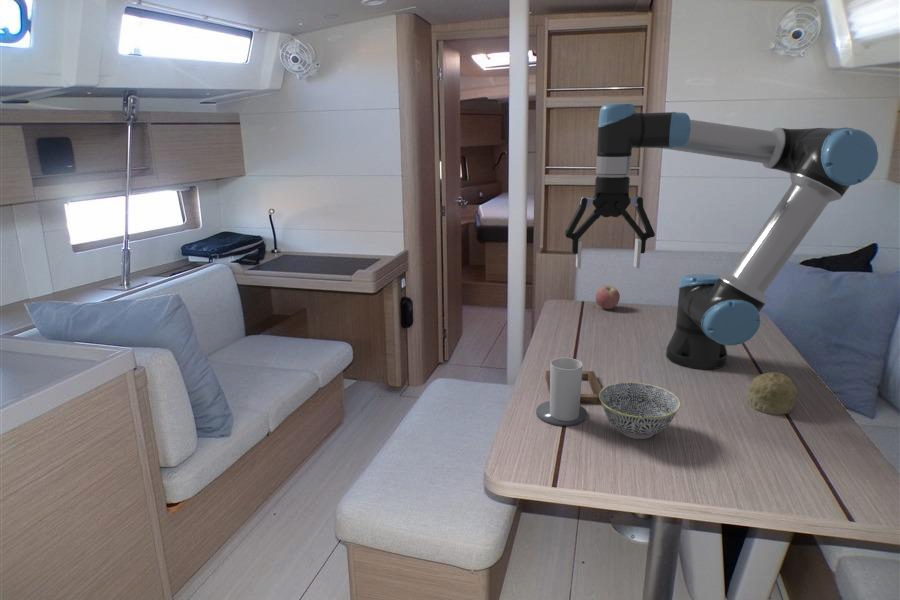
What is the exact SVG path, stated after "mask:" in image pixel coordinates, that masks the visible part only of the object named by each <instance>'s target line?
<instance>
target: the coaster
mask: <svg viewBox="0 0 900 600" xmlns="http://www.w3.org/2000/svg"><path fill="white" fill-rule="evenodd" d="M535 411H536V412H535V414H536V417H537V418H538V419H539V420H540V421H542V422H544V423H547V424H549V425H553V426H558V427H559V426H561V427H573V426H577V425H579V424H580V425H581V424H582V423H584V422H585V421H586V420H587V418H588V412H587V410H586V408H585V407H583V406H582V405H580V409H579V416H578V418H577V419H575V420H572V421H561V420H557V419H555V418H553V417H552V416H551V415H550V400H549V401H544V402H542V403H540V404H538V406H537V408H536V409H535Z"/></svg>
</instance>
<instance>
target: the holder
mask: <svg viewBox="0 0 900 600" xmlns="http://www.w3.org/2000/svg"><path fill="white" fill-rule="evenodd" d="M544 376H545V377H544V378H545V379H546V385H547V389H548V393H549V394H550V370H545V375H544ZM582 380H587V381H588V384H589V386H590V388H591V391H592V393H581V396H580V404H602V403H601V401H600V400H599V393H600V391H601V390H602V389H603V388H602V387H601V385H600V383H599V382H600V381H598V378H597V375H596V373H595V371H594V370H582Z"/></svg>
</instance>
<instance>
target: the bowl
mask: <svg viewBox="0 0 900 600" xmlns="http://www.w3.org/2000/svg"><path fill="white" fill-rule="evenodd" d="M601 389H602V390H601V391H600V393H599V400H600V401H601V403H600V404H601V405H602V408H603V410H604V413H605V416H606V418H607V420H608V421H609V422H610V423H611V424H612V425H613V426H614V427H615V428H616V429H618V430H619V432H620V433H621V434H622V435H624V436H625V437H628V438H631V439H636V440H646V439H649V438H652V437H653V436H654V435H656V434H659V433H661V432H662V431H665V430H666V428H667V427H669V425H670V424H671V422H672V421H673V419H674V418H675V415H676V413H677V412H678V411H679V410H680V408H681V404H682V403H681V400H680V398H679V397H678V396H677V395H676V394H674V393H673V392H671V391H669V390H668V389H665V388H663V387H660V386H657V385H653V384H649V383H645V382H634V381H623V382H617V383H611V384H609V385H606V386H604V387H602V388H601Z"/></svg>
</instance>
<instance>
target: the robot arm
mask: <svg viewBox="0 0 900 600" xmlns="http://www.w3.org/2000/svg"><path fill="white" fill-rule="evenodd" d="M635 109H636V108H635V105H634V104H633V103H608V104H607V103H606V104H603V105H602V106H601V107H600V110H599V117H598V123H597V124H598V125H597V144H596V145H597V146H596V147H597V148H596V150H597V151H596V163H595V164H596V166H595V173H596V174H597V176H596V177H595V180H594V181H595V183H594V196H593V197H592V198H589V197H585V196H581V197H580V200H579V205H578V208H577V209H576V211H575V214H573V217H572V219H571V221H570V222H569V224H568V226H567V228H566V230H565V231H564V235H565V237H566V238H567V239H571V240H572V243H571V252H572V254H574V255H575V267H576V269H581V267H582V248H583V247H582V246H583V241H582V239H580V238H582V236H583V235H584V234H585V233H587V231H588V229H590V227H591V226H592V225H593V224H594V223H595V222H596V221H597V220H598V219H600V217H601V216H602V217H603V218H609V217H613V218H619V217H620V216H621V217H622V218H623V219H624V220H625V222H626V223H627V224H628V225H629V226H630V228H631V229H632V230H633V232H634V233H635V234H636V235H637V236H638V238H635V242H634V251H633V253H634V256H633V267H634V268H635V269H640V267H641V266H640V264H641V254H645V252H646V242H647V241H648V239H650V238H654V237H655V235H656V233H655V231H654V229H653V227H652V224H651V222H650V219H649V217H648V215H647V213H646V210H645V208H644V198H643V197H641V196H639V195H637V196H635V197H630V194H629V193H630V177H629V176H628V175H629V174H631V168H632V167H631V165H632V152H633V149H644V148H646V149H647V148H648V149H665V150H670V151H678V152H685V153H692V154H699V155H705V156H713V157H718V158H725V159H733V160H739V161H746V162H747V161H748V162H753V163H760V164H762V166H763V167H764V168H766V169H772V170H777V171H781V172H785V173H789V177H790V182H791V185H790V186H789V188H788V189H787V190H786V192H785V193H784V195H783V196H782V198H781V199H780V201H779V202H778V204H777V206H775V208H774V210H773V211H772V212H771V214H769V215H770V216H769V217H768V219H767V220H766V221H765V223H764V224H763V226H761V228H760V230H759V231H758V232H757V234H756V236H755V237H754V238H753V240H752V242H751V243H750V244H749V246H748V247H747V249H746V250H745V252H744V253H743V255H742V256H741V258H740V259H739V260H738V262H737V263H736V264H735V266H734V267H733V269H732V271H731V272H730V273H729V274H725V275H719V274H704V273H703V274H702V273H701V274H697V273H696V274H686V275H684V276H682V277H681V279H680V282H679V287H678V298H677V299H678V301H677V311H676V323H675V329H674V332H673V334H672V336H671V338H670V340H669V342H668V344H667V347H666V353H665V355H666V358H667V359H668V360H669V361H671V362H672V363H675V364H676V365H679V366H683V367H687V368H692V369H700V370H701V369H702V370H713V369H719V368H722V367H724V366H726V365H727V362H728V350H727V346H736V345H737V346H738V345H741V344H744V343H746V342H748V341H749V340H751V339H752V338H753V337H754V336H755V335H756V334H757V333H758V331H759V329H760V326H761V315H760V312H761V310H762V309H763V308H764V307H765V305H766V297H765V293H766V291H767V290H768V289H769V287H770V286H771V285H772V283H773V281H774V280H775V279H776V277H777V276H778V274H779V273H780V271H781V270H783V267H784V266H785V265H786V263H787V262H788V260H789V259H790V258H791V256H792V255H793V254H794V252H795V251H796V250H797V248H798V247H799V245H800V243H801V242H802V241H803V239H804V238H805V237H806V235H808V232H809V231H810V229H812V227H813V225H814V224H815V223H816V221H817V220H818V218H819V217H820V216H821V214H822V213H823V211H824V210H825V209H826V207H827V206H828V205H829V203H831V202H834V201H838V200H841V199H842V198H843V196H844V195H845V194H846V193H847V190H849V188H850V186H855V185H858V184H859V183H861V184H862V183H863V182H864V181H865V180H867V179H868V178H869V177H870V176H871V175H872V174H873V173H874V171H875V169H876V167H877V164H878V161H879V151H878V146H877V143H876V141H875V139H874V137H872V136H871V135H870V134H869V133H867V132H865V131H864V130H860V129H856V128H855V129H854V128H852V127H840V128H831V127H829V128H828V127H813V128H783V127H775V128H774V129H772V130H767V129H758V128H754V127H752V128H751V127H745V126H744V127H743V126H739V125H738V126H737V125H732V124H731V125H729V124H722V123H715V122H709V121H703V120H702V121H701V120H695V119H690V116H689V114H687V113H686V112H676V111H670V112H669V111H668V112H666V111H665V112H646V113H645V112H636V110H635ZM630 204H632V206H633V207H634V208H635V209H636V212H637V214H638V217H639V219H640V221H641V223H642V226H643V228H644V230H645V232H644V231H643V230H642V229H641V228H640V226H639V225H638V224H637V222H636V221H635V220H634V219H633V218H632V216H631V215H630V213H629V212H628V210H626V209H627V208H628V206H629V205H630ZM590 205H593V206H594V208H595V209H594V210H593V211H592V212H591V214H590V215H589V216H588V217H587V218H586V219H585V221H584V222H583V223H582V224H580V226H579V227H578V228H577V226H578V224H579V222H580V220H581V219H582V217H583V215H584V213H585V211H586V210H587V208H589V207H590ZM576 228H577V229H576ZM574 231H575V232H574Z"/></svg>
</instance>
